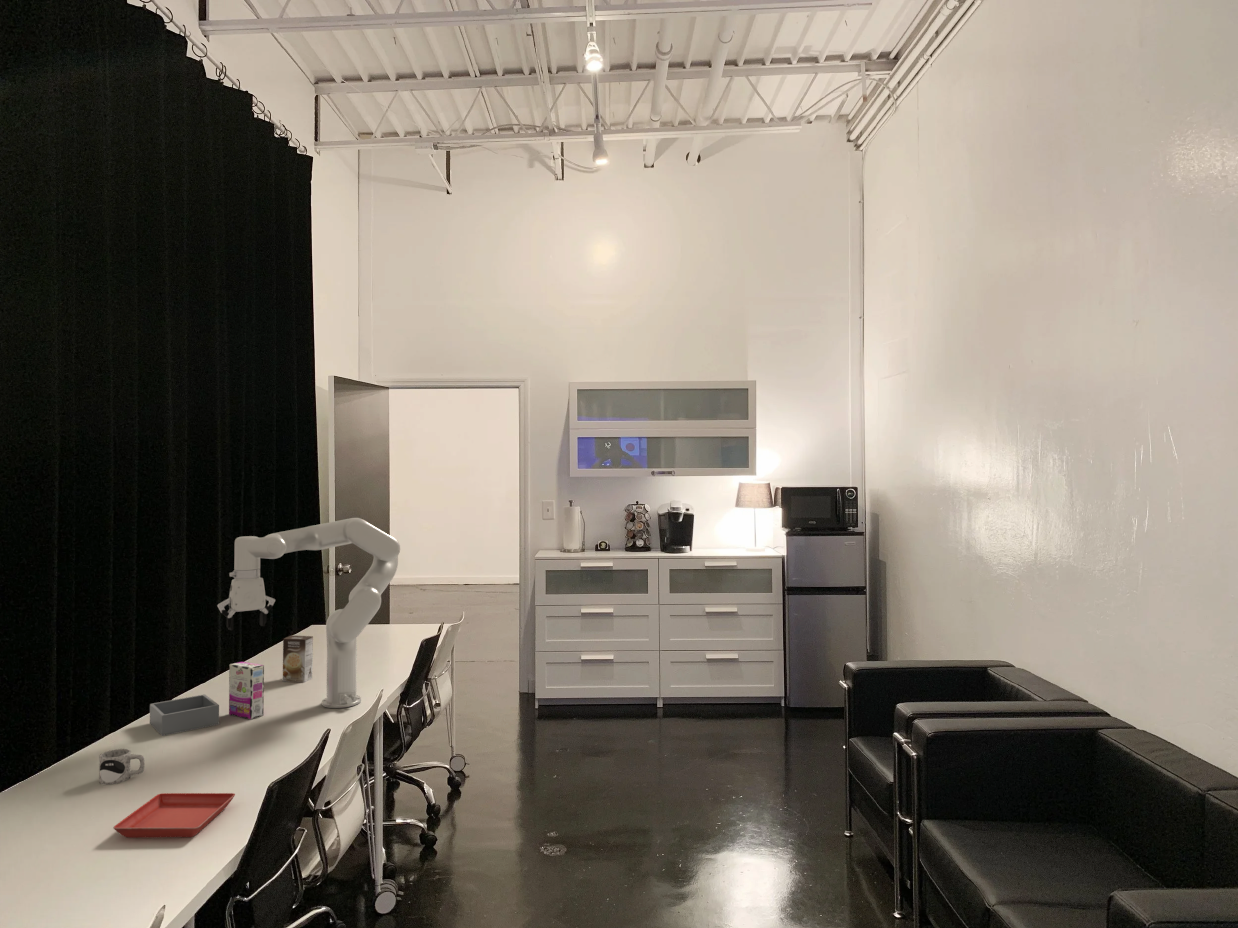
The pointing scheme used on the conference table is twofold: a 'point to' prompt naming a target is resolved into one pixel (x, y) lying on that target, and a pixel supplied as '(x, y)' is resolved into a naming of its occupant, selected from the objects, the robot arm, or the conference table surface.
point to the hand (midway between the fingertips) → (246, 627)
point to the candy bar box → (246, 690)
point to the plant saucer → (174, 815)
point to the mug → (117, 766)
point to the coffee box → (297, 658)
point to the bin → (184, 714)
